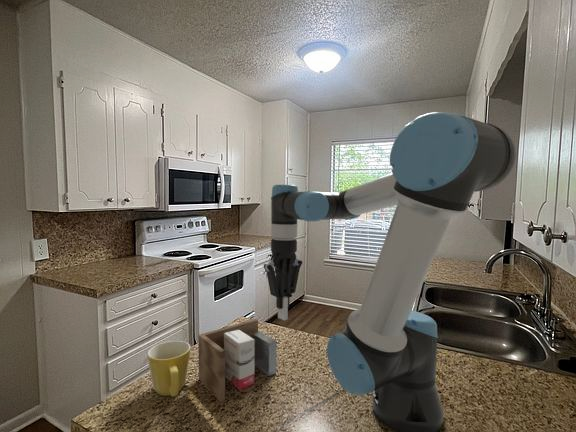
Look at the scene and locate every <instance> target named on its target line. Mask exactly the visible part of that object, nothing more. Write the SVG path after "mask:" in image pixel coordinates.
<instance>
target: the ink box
mask: <svg viewBox="0 0 576 432" xmlns="http://www.w3.org/2000/svg"><path fill="white" fill-rule="evenodd" d="M254 343H255V340H254V339H253V338H251V337H250V336H248V335H247V334H245V333H243V332H242V331H240V330H235V331H231V332H226V333H224V350H225V379H227V380H228V381H229V382H230V383H231V384H233V386H234V387H235V388H237V389H238V390H240V391H241V390H243V389H245V388H247V387H249V386H252V385H255V377H256V376H255V373H256V372H255V369H256V367H255V362H254Z"/></svg>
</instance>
